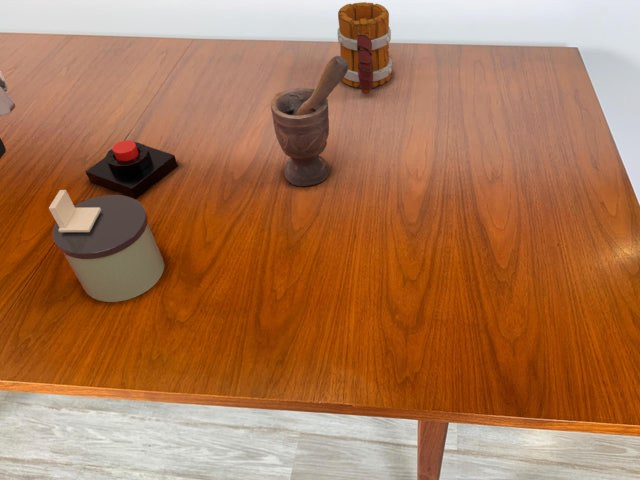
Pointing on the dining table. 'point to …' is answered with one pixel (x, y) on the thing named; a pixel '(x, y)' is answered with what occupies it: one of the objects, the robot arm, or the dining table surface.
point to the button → (125, 150)
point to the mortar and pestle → (306, 125)
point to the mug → (365, 44)
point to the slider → (72, 214)
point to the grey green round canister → (113, 250)
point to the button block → (132, 171)
